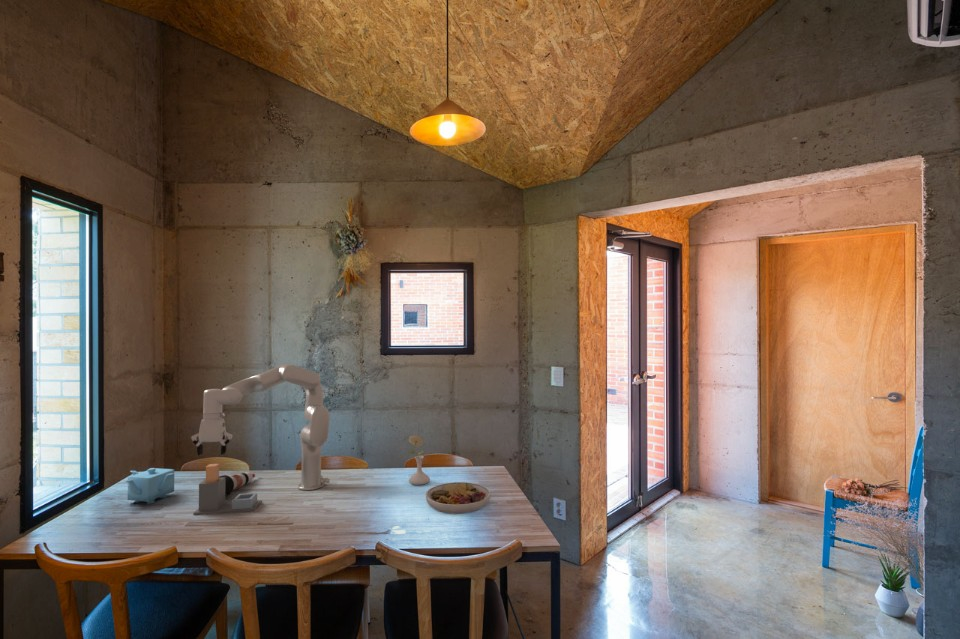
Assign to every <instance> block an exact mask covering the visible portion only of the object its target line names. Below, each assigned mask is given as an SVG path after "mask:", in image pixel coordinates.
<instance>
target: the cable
mask: <svg viewBox="0 0 960 639" xmlns="http://www.w3.org/2000/svg"><path fill="white" fill-rule="evenodd" d="M222 477H225V497H227V496H230V495H231V494H232V492H234V491H235V490H237V489H240V488H241V487H243V486H246V485H248V484H250V483H251V482H252V481H253V480H254V478H256V474H255V473H251V472H250V471H245V472H242V473H237V474H233V475H225V474H224V475H219V478H222Z"/></svg>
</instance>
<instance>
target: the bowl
mask: <svg viewBox="0 0 960 639" xmlns="http://www.w3.org/2000/svg"><path fill="white" fill-rule="evenodd" d="M425 499H426V503H427V504H428V506H430V508H432V509H433V510H435V511H438V512H441V513H445V514H456V515H458V514H467V513H473V512H476V511H478V510H480V509H482V508H483V507H485V506H486V505H488V502H489V501H490V499H491V491H490V490H489V488H487V487H486V486H484V485H481V484H479V483H473V482H467V481H466V482H465V481H462V482H461V481H456V482H445V483H442V484H437V485H434V486H432V487H430V488H428V490H427V491H426V493H425Z"/></svg>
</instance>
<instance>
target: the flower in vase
mask: <svg viewBox="0 0 960 639" xmlns="http://www.w3.org/2000/svg"><path fill="white" fill-rule="evenodd" d="M408 442H409V443H410V445H411V446H413V447H417V448H419V447H421V446H423V445H424V440H423V438H421V437H420V436H419V435H416V434H415V435H411V436H409V438H408ZM423 452H424V450H423V451H422V450H421V451H419V452H418V453H417V451H416V450H414V449H410V450H408V454H411V455H415V454H416V456H414V459H415V461H416V468H417V469H416V471H415V473H414V474H412V475H411V476H410V477H408V478H409V479H408V483H409V484H411V485H412V486H413V485H414V486H423V485H425V484H428V483H430V481H431V478H430V476H429V475H428V474H426V473H424V471H423V470H422V463H423V460H424V458H425V456H424V455H421V454H423Z"/></svg>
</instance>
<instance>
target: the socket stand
mask: <svg viewBox="0 0 960 639" xmlns="http://www.w3.org/2000/svg"><path fill="white" fill-rule="evenodd" d="M262 502H263V500H262V499H260V500H259V499H258V492H253V493H251V492H249V493H238V494H237V495H236V496H235V498H233V499H232V501H227V502H226V496H225V477H222V478H219V480H218V481H217V482H210V483H206V478H205V479H204V480H202V481H201V482H200V483H198V508H197V509H196V510H195V511H194V512H193V513H192V514H193V516H201V515H202V516H203V515H217V514H232V513H233V514H235V513H247V512H248V513H249V512H255V511H256V510H257V508H259V507H260V505H261V504H262Z"/></svg>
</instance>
